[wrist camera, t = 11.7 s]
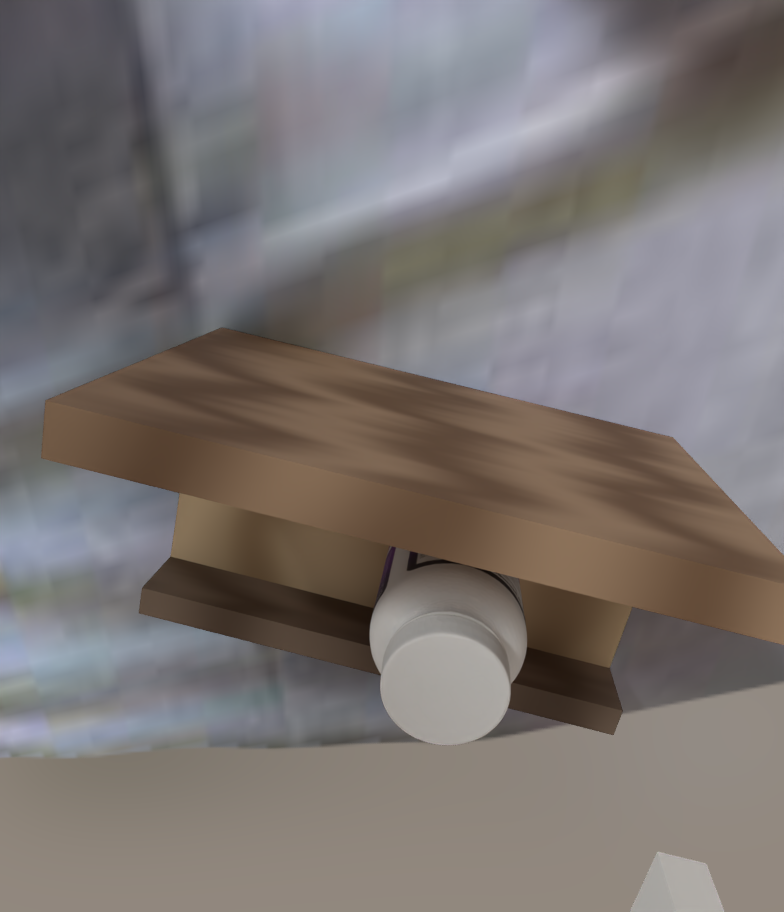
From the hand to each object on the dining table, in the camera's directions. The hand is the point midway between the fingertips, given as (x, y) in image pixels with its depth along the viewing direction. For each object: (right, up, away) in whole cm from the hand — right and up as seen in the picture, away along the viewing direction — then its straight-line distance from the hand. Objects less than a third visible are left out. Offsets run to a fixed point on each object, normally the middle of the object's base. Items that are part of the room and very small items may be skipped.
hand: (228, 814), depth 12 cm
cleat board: (+4, +4, +22) cm, 23 cm away
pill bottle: (+5, +1, +20) cm, 21 cm away
